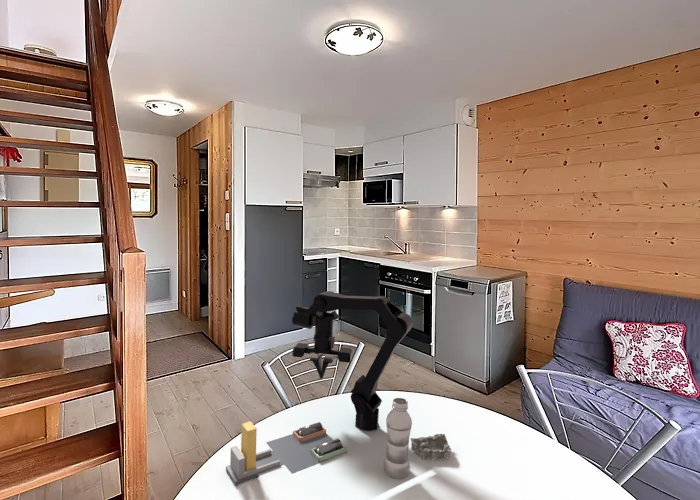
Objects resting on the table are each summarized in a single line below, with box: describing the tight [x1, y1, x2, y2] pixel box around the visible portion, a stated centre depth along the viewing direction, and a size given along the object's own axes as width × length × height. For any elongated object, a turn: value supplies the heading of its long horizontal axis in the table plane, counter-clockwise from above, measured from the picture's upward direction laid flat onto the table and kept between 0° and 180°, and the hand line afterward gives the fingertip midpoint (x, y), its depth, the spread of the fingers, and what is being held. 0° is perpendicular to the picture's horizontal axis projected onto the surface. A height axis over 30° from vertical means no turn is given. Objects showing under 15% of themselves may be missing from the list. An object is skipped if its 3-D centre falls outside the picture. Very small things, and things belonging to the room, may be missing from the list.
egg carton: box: [410, 433, 452, 461], centre depth 114 cm, size 11×8×4 cm
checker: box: [225, 425, 348, 486], centre depth 109 cm, size 30×16×6 cm, turn 125°
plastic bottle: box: [383, 397, 413, 480], centre depth 103 cm, size 6×7×20 cm
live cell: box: [316, 438, 343, 457], centre depth 111 cm, size 7×3×3 cm, turn 125°
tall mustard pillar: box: [240, 420, 258, 471], centre depth 102 cm, size 2×4×11 cm, turn 35°
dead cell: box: [298, 421, 324, 437], centre depth 119 cm, size 7×3×3 cm, turn 125°
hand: (321, 377), depth 130 cm, fingers closed
